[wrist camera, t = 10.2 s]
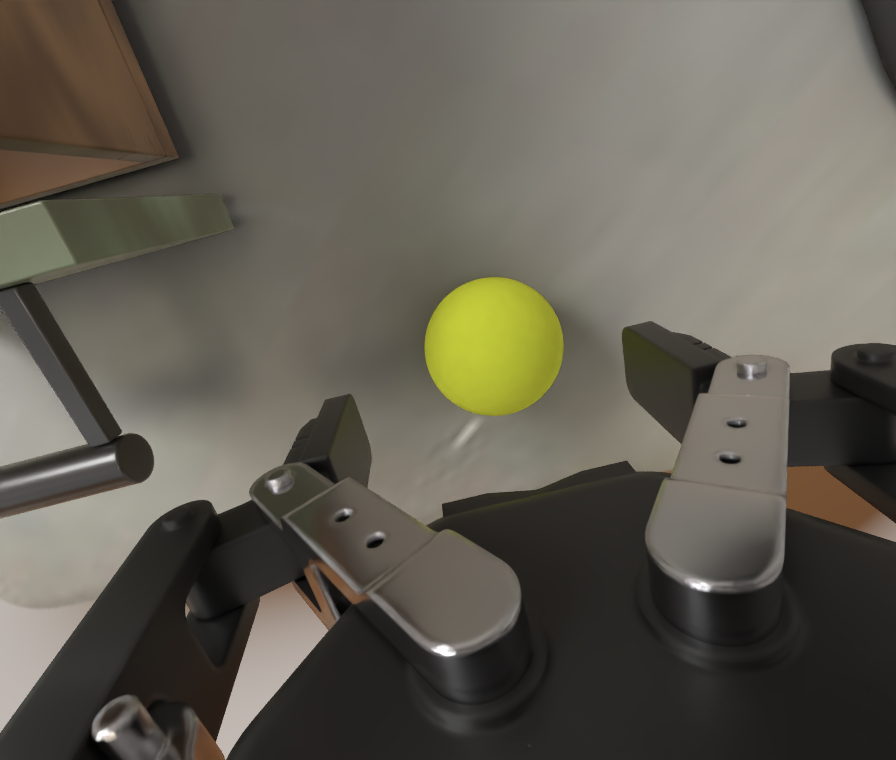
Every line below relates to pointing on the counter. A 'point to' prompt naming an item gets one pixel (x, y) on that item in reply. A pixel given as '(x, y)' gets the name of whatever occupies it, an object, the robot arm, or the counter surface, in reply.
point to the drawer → (77, 216)
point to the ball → (494, 346)
